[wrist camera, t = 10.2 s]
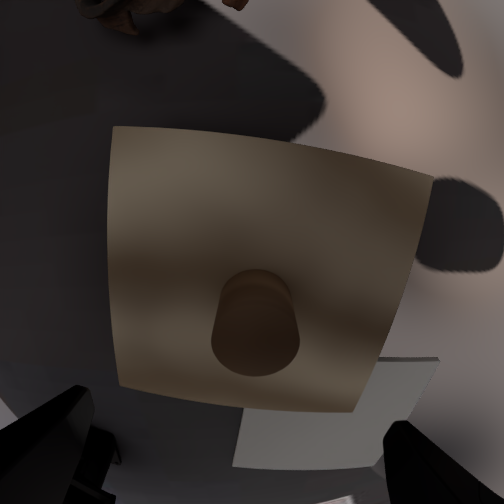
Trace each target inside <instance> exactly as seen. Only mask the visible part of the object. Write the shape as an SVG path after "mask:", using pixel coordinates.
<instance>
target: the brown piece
mask: <svg viewBox="0 0 504 504" xmlns="http://www.w3.org/2000/svg"><path fill="white" fill-rule="evenodd" d="M101 1H102V0H75V3H76V6H77V8H78V9H79V12H80V14H81V15H82V16H84V17H86V18H88V19H94V18H97V19H98V20H99V22H100V23H101V24H102V25H103V26H104V27H106V28H109V29H114V30H117V31H120V32H124V33H126V34H131V35H138V34H139V30H138V29H137V28H136V26H135V25H134V23H133V19H132V15H131V12H134V13H136V14H151V13H155V12H162V13H169V12H171V11H173V10H175V9H176V8H177V7H179V6H180V5H182V4H183V2H184V1H185V0H105V1H104V2H102V3H101ZM248 1H249V0H222V3H223V4H225V5H227V6H229V7H233V8H234V9H236V10H237V11H241V10H242V9H243V8H244V6H245V5H246V4H247V3H248ZM130 11H131V12H130Z"/></svg>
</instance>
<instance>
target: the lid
mask: <svg viewBox="0 0 504 504" xmlns="http://www.w3.org/2000/svg"><path fill="white" fill-rule="evenodd" d="M433 178H434V177H433V176H430V175H426V174H423V173H420V172H417V171H413V170H410V169H406V168H402V167H399V166H395V165H391V164H387V163H383V162H380V161H375V160H372V159H367V158H363V157H359V156H355V155H350V154H346V153H341V152H336V151H332V150H327V149H322V148H317V147H311V146H306V145H301V144H295V143H289V142H283V141H277V140H270V139H264V138H257V137H250V136H242V135H234V134H226V133H217V132H207V131H196V130H184V129H170V128H153V127H128V126H113V135H112V145H111V156H110V169H109V186H108V217H107V250H108V280H109V297H110V311H111V322H112V332H113V341H114V350H115V357H116V365H117V372H118V378H119V384H120V386H124V387H128V388H132V389H136V390H140V391H145V392H149V393H154V394H159V395H164V396H169V397H174V398H179V399H185V400H191V401H197V402H203V403H210V404H217V405H225V406H233V407H242V408H251V409H262V410H275V411H291V412H319V413H353V411H354V409H355V407H356V405H357V403H358V401H359V399H360V397H361V395H362V393H363V391H364V389H365V386H366V384H367V382H368V380H369V378H370V376H371V373H372V371H373V369H374V367H375V364H376V362H377V360H378V358H379V355H380V353H381V350H382V348H383V345H384V343H385V340H386V338H387V336H388V333H389V330H390V328H391V325H392V323H393V320H394V317H395V315H396V312H397V309H398V306H399V303H400V300H401V298H402V295H403V292H404V289H405V286H406V282H407V280H408V277H409V274H410V270H411V267H412V264H413V260H414V257H415V254H416V250H417V247H418V243H419V239H420V235H421V232H422V228H423V224H424V220H425V216H426V211H427V207H428V203H429V198H430V193H431V189H432V184H433Z"/></svg>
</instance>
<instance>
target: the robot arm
mask: <svg viewBox="0 0 504 504" xmlns="http://www.w3.org/2000/svg"><path fill="white" fill-rule="evenodd" d="M93 414H94V404H93V400H92V396H91V392H90V390H89V389H88V388H86V387H83V386H80V385H75V386H73V387H71V388H70V389H68V390H66V391H65V392H63V393H61V394H60V395H58V396H56V397H55V398H53V399H52V400H50V401H48V402H47V403H45V404H43V405H42V406H40V407H38V408H37V409H35V410H33V411H32V412H30V413H28V414H27V415H25V416H23V417H21V418H20V419H18V420H17V421H15V422H13V423H11V424H10V425H8V426H6V427H5V428H3V429H1V430H0V504H115V500H116V496H115V495H113V494H110V493H108V492H106V491H104V490H102V489H101V488H102V485H103V483H104V480H105V477H106V474H107V472H108V469H109V466H110V464H111V463H113V464H116V465H121V459H120V456H119V453H118V449H117V446H116V443H115V439H114V436H113V435H112V434H110V433H107V432H104V431H100V430H97V429H94V428H91V427H90V424H91V421H92V418H93ZM383 453H384V462H385V473H386V482H387V488H388V492H389V497H390V503H391V504H504V499H503V498H502V497H500V496H499V495H497V494H496V493H494V492H493V491H492V490H490V489H489V488H488V487H487V486H485V485H484V484H483V483H481V482H480V481H478V479H476V478H475V477H474V476H473V475H472V474H470V473H469V472H468V471H467V470H465V469H464V468H463V467H462V466H461V465H459V464H458V463H457V462H456V461H455V460H453V459H452V458H451V457H450V456H449V455H447V454H446V453H445V452H444V451H443V450H441V449H440V448H439V447H438V446H437V445H435V444H434V443H433V442H432V441H430V440H429V439H428V438H427V437H426V436H425V435H424V434H422V433H421V432H420V431H419V430H418V429H417V428H415V427H414V426H413V425H412V424H410V422H408V421H407V420H398V421H394V422H393V423H392V425H391V426H390V428H389V429H388V431H387V432H386V434H385V435H384V438H383Z"/></svg>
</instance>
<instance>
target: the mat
mask: <svg viewBox="0 0 504 504" xmlns="http://www.w3.org/2000/svg"><path fill="white" fill-rule="evenodd" d="M439 363H440V360H439V359H438V357H424V358H423V357H422V358H399V357H398V358H397V357H396V358H395V357H379V358H378V360H377V362H376V364H375V367H374V369H373V371H372V373H371V376H370V378H369V380H368V382H367V384H366V386H365V389H364V391H363V393H362V395H361V397H360V399H359V401H358V403H357V405H356V407H355V409H354V411H353V413H319V412H291V411H275V410H262V409H251V408H244V409H243V413H242V418H241V423H240V428H239V433H238V438H237V443H236V447H235V452H234V457H233V462H232V466H233V467H243V468H257V469H276V470H326V469H345V468H358V467H368V466H374V465H375V463H376V462H377V461H378V459H379V458H380V457H381V456H382V454H383V438H384V435H385V434H386V432H387V431H388V429H389V428H390V426H391V425H392V423H393V422H394V421H398V420H406V419H407V418H408V417H409V415H410V413H411V412H412V410H413V409H414V407H415V405H416V404H417V402H418V400H419V399H420V397H421V395H422V394H423V392H424V390H425V388H426V387H427V385H428V383H429V381H430V380H431V378H432V376H433V374H434V372H435V370H436V368H437V366H438V365H439Z"/></svg>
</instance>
